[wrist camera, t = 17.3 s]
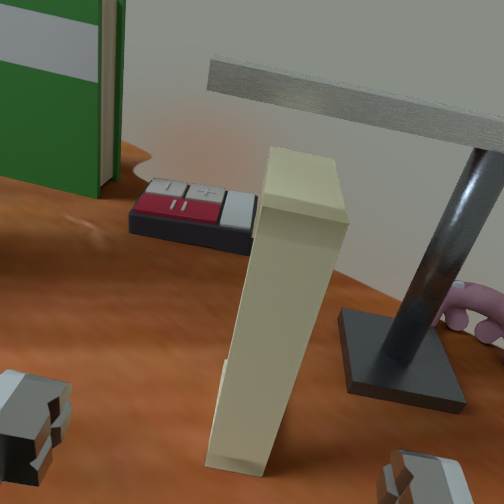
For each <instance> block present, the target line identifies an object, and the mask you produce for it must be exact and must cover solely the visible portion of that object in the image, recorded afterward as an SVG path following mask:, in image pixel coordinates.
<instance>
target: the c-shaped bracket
mask: <svg viewBox="0 0 504 504" xmlns="http://www.w3.org/2000/svg"><path fill="white" fill-rule="evenodd" d="M348 225H349V222H348V218H347V214H346V209H345V205H344V201H343V197H342V192H341V188H340V184H339V179H338V175H337V171H336V167H335V162H334V159H330V158H325V157H320V156H316V155H311V154H306V153H301V152H296V151H292V150H287V149H282V148H277V147H273V146H271V148H270V152H269V157H268V161H267V166H266V171H265V175H264V180H263V185H262V190H261V194H260V198H259V203H258V208H257V212H256V217H255V222H254V227H253V233H252V238H254V242H253V246H252V251H251V255H250V260H249V264H248V269H247V273H246V278H245V282H244V287H243V291H242V296H241V301H240V305H239V310H238V314H237V319H236V323H235V328H234V332H233V337H232V341H231V346H230V350H229V355H228V359H225V360H224V365H223V370H222V375H221V380H220V386H219V391H218V397H217V402H216V407H215V413H214V418H213V424H212V429H211V434H210V440H209V445H208V451H207V456H206V462H205V467H210V468H216V469H221V470H226V471H232V472H237V473H242V474H247V475H253V476H258V477H262V476H263V473H264V470H265V467H266V464H267V461H268V458H269V455H270V452H271V449H272V447H273V444H274V441H275V438H276V435H277V432H278V429H279V426H280V423H281V420H282V417H283V415H284V412H285V409H286V406H287V403H288V400H289V397H290V394H291V391H292V388H293V385H294V382H295V380H296V377H297V374H298V371H299V368H300V365H301V362H302V359H303V356H304V353H305V350H306V347H307V345H308V342H309V339H310V336H311V333H312V330H313V327H314V324H315V321H316V318H317V315H318V313H319V310H320V307H321V304H322V301H323V298H324V295H325V292H326V289H327V286H328V283H329V280H330V278H331V275H332V272H333V269H334V266H335V263H336V260H337V257H338V254H339V251H340V248H341V245H342V243H343V240H344V237H345V234H346V231H347V227H348Z"/></svg>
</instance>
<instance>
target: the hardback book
mask: <svg viewBox="0 0 504 504" xmlns="http://www.w3.org/2000/svg"><path fill="white" fill-rule="evenodd" d="M125 11H126V0H0V176H4V177H8V178H12V179H16V180H20V181H25V182H29V183H33V184H37V185H41V186H45V187H49V188H53V189H57V190H62V191H66V192H70V193H74V194H78V195H82V196H86V197H90V198H95V199H98V198H99V197H100V187H101V186H102V185H103V184H104V183H105V182H107V181H108V180H113V181H118V180H120V157H121V127H122V97H123V69H124V40H125Z"/></svg>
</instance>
